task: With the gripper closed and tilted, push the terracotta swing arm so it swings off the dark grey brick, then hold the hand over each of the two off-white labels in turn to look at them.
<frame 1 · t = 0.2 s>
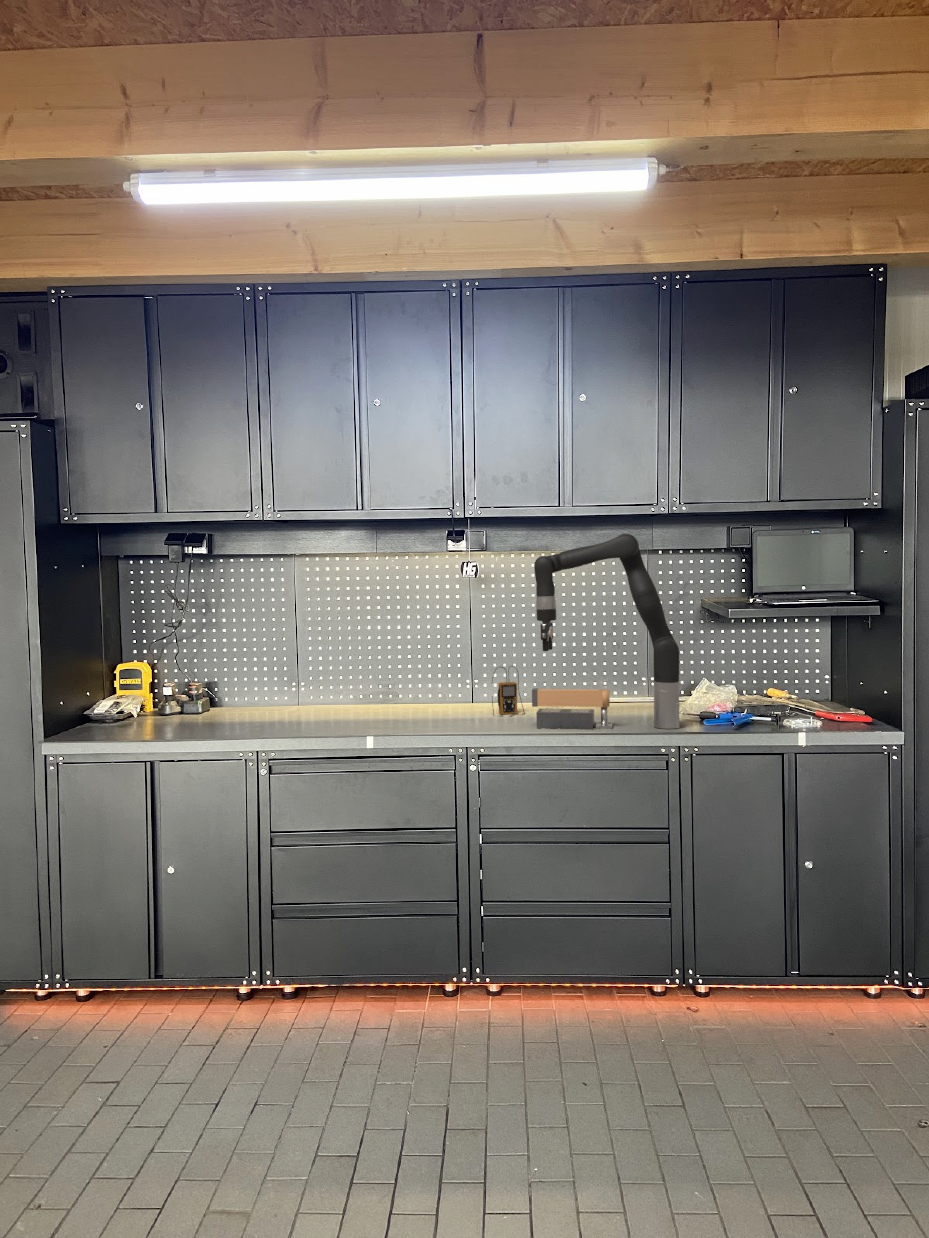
hand: (547, 650, 352), 29 cm above the worktop, tool pointing down, fingers open, 8 cm apart
multimeter: (511, 715, 378), on the worktop
dark grey brick: (565, 726, 349), on the worktop
hinge post: (604, 727, 346), on the worktop
swing arm: (570, 697, 348), point 11 cm above the worktop, hinge at 0.0°
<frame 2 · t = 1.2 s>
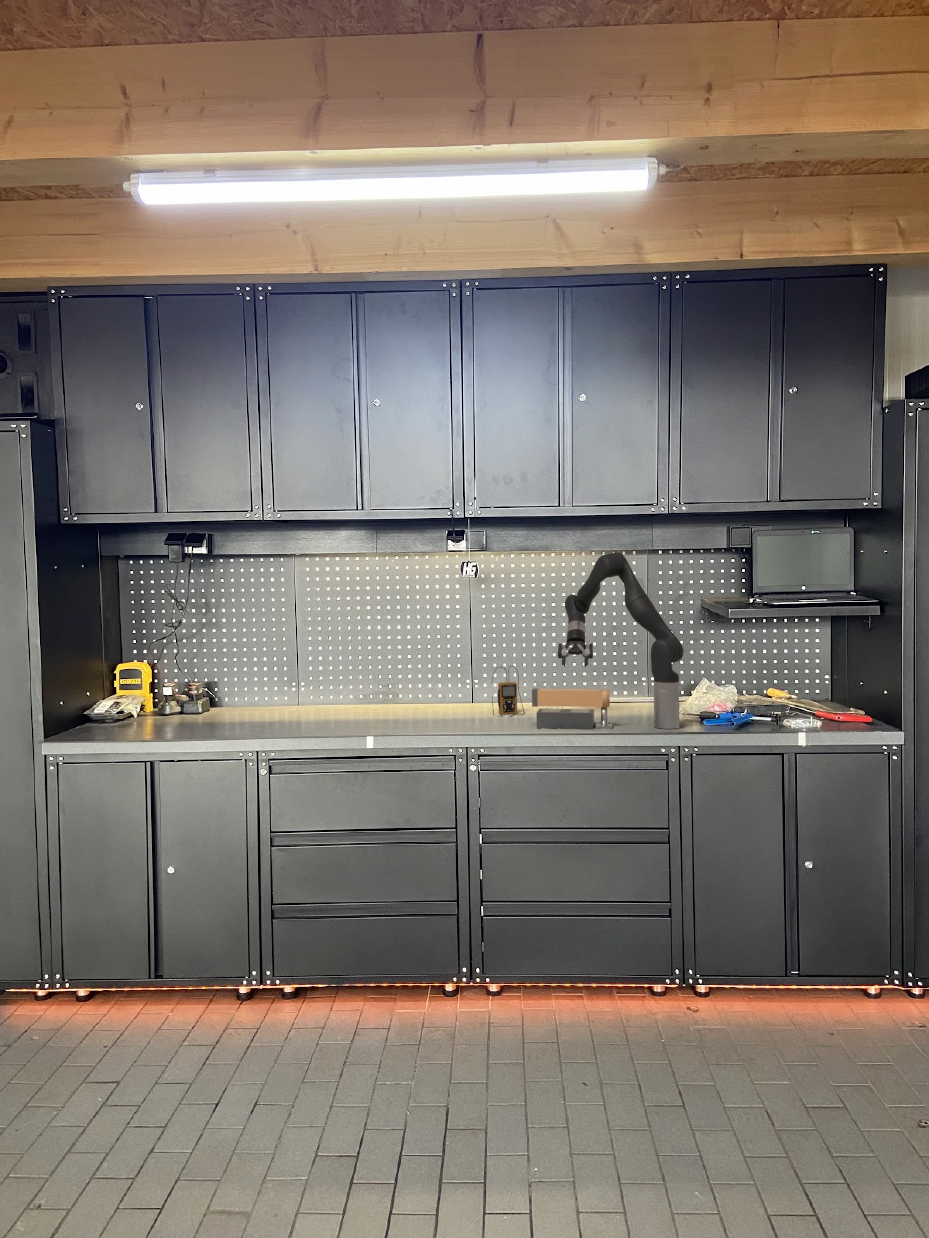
hand: (574, 665, 366), 21 cm above the worktop, tool tilted 45°, fingers open, 8 cm apart
nothing on the worktop moved.
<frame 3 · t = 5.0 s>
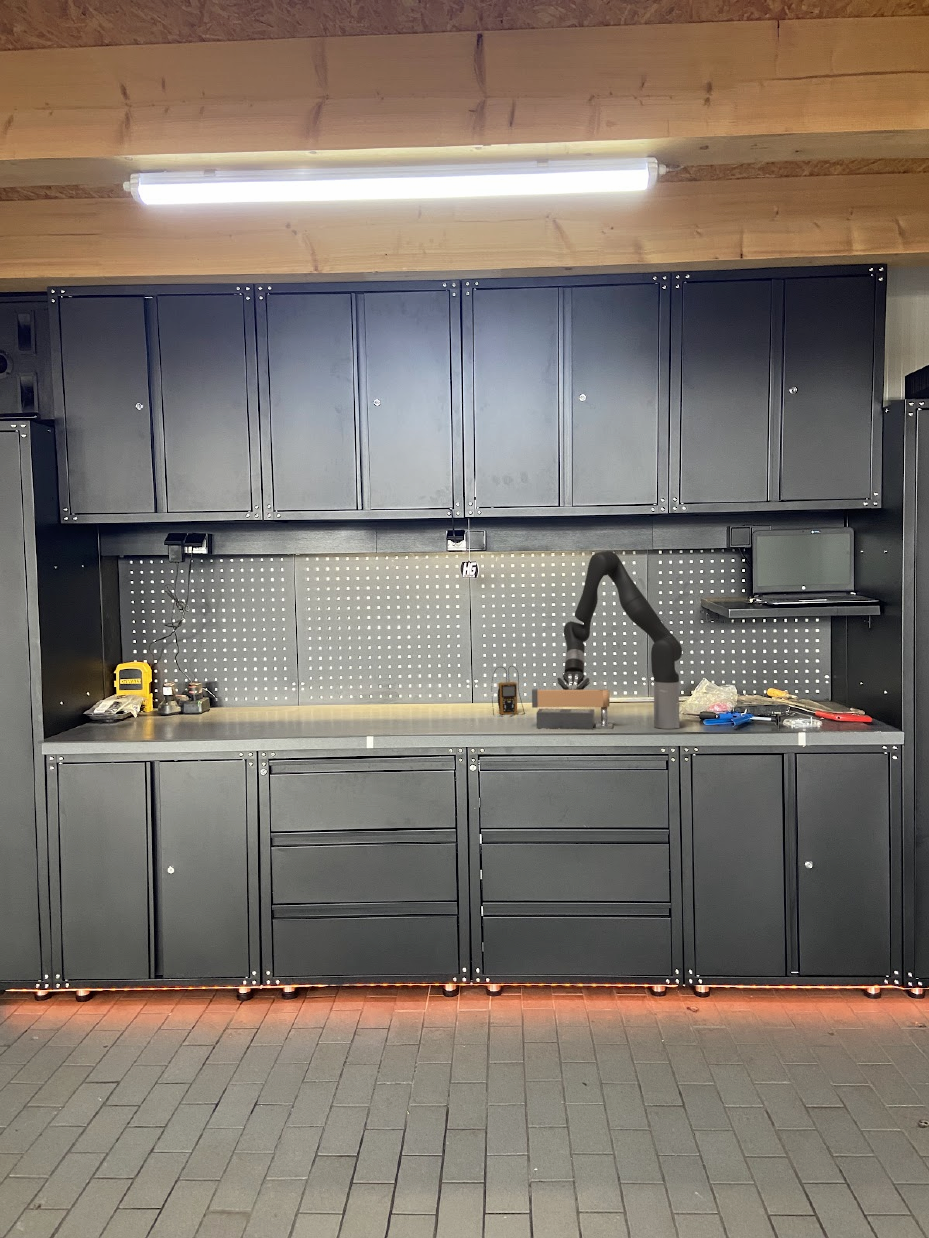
hand: (572, 699, 349), 10 cm above the worktop, tool tilted 45°, fingers closed
swing arm: (570, 698, 347), point 11 cm above the worktop, hinge at 5.0°, touching gripper
everything else where it was.
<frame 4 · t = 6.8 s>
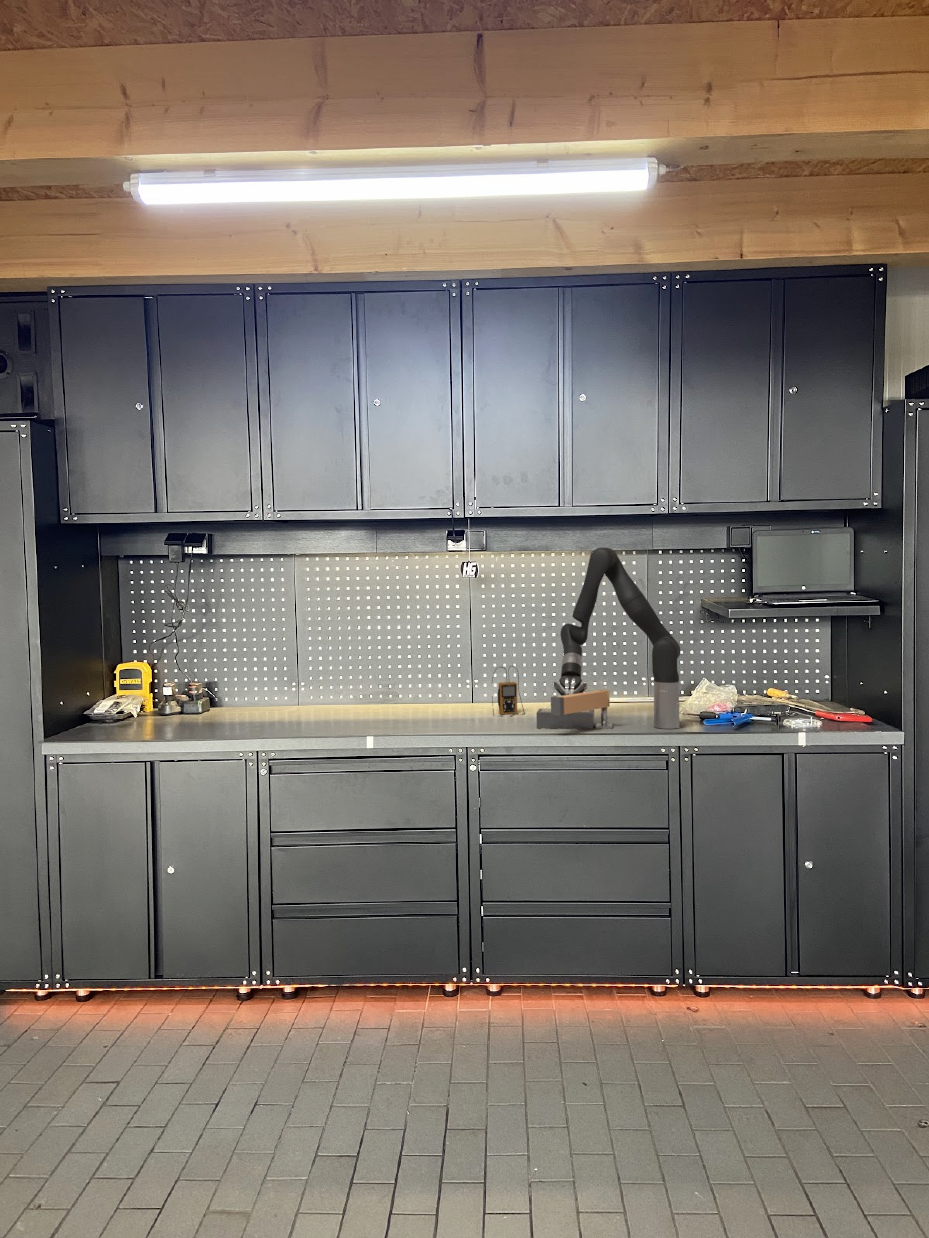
hand: (568, 704, 337), 10 cm above the worktop, tool tilted 45°, fingers closed
swing arm: (582, 701, 337), point 11 cm above the worktop, hinge at 52.8°
everything else where it was.
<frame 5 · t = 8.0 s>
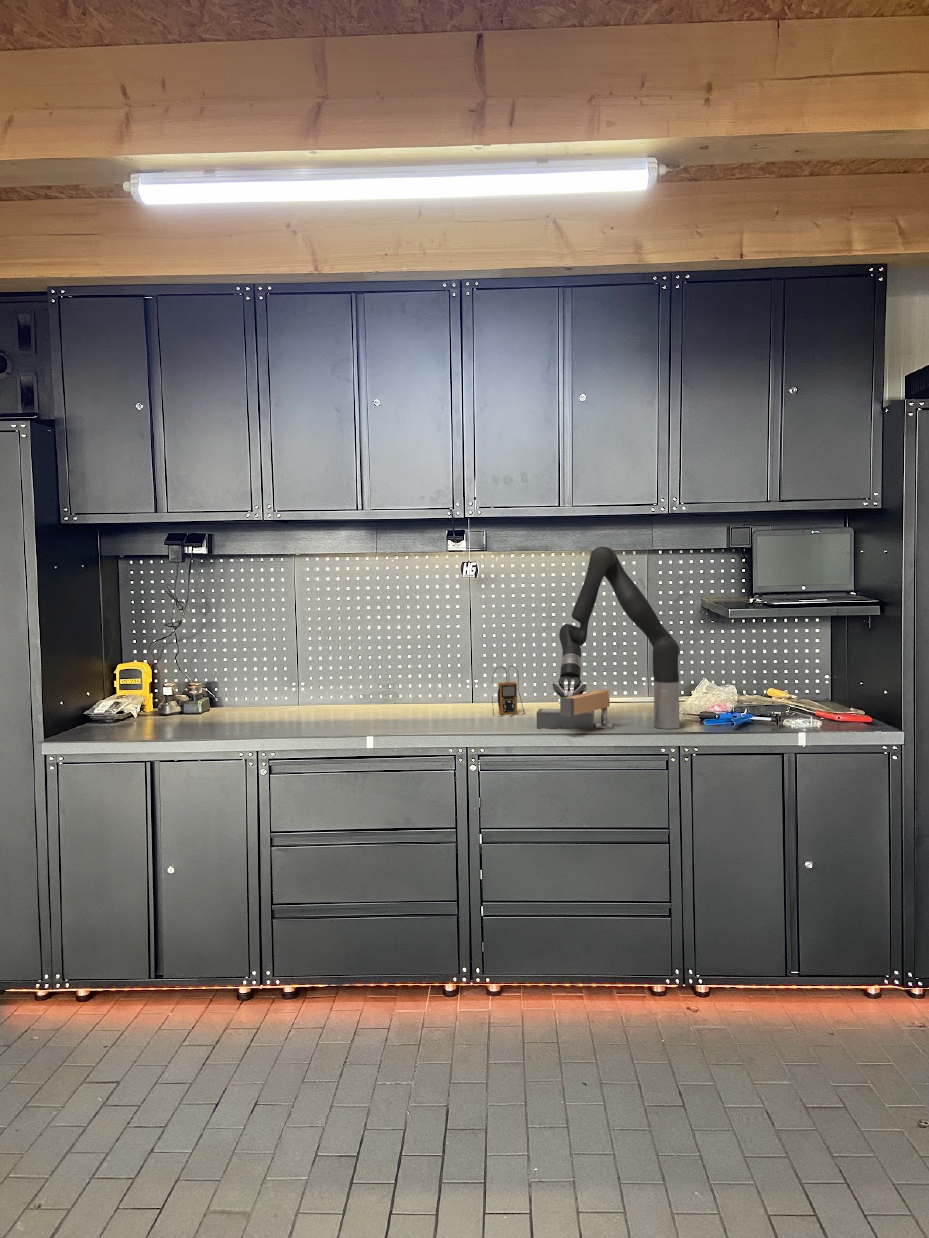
hand: (568, 705, 332), 10 cm above the worktop, tool tilted 45°, fingers closed
swing arm: (586, 702, 336), point 11 cm above the worktop, hinge at 62.2°, touching hand
everything else where it was.
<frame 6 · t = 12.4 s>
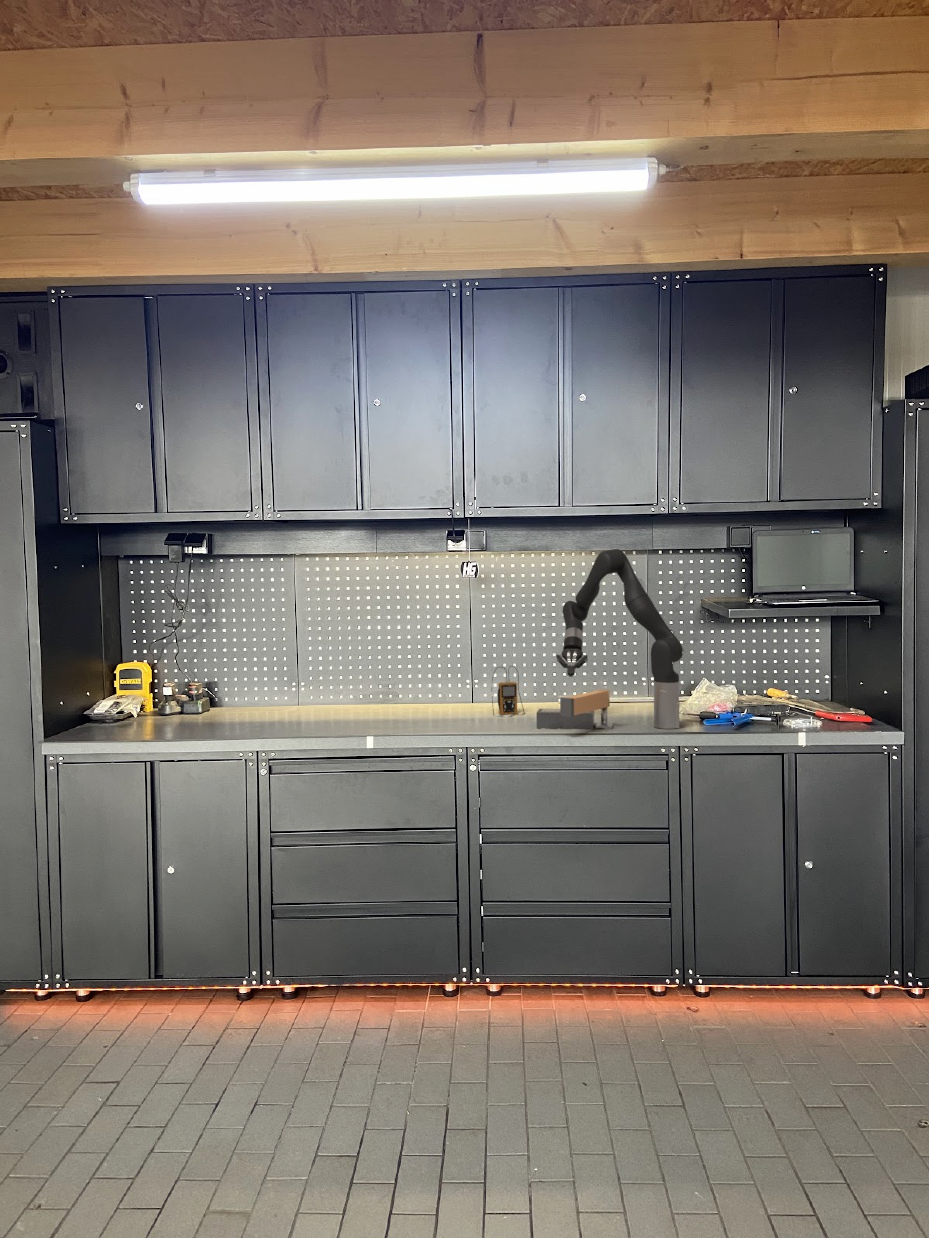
hand: (570, 675, 360), 18 cm above the worktop, tool tilted 45°, fingers closed
swing arm: (586, 702, 336), point 11 cm above the worktop, hinge at 62.3°
everything else where it was.
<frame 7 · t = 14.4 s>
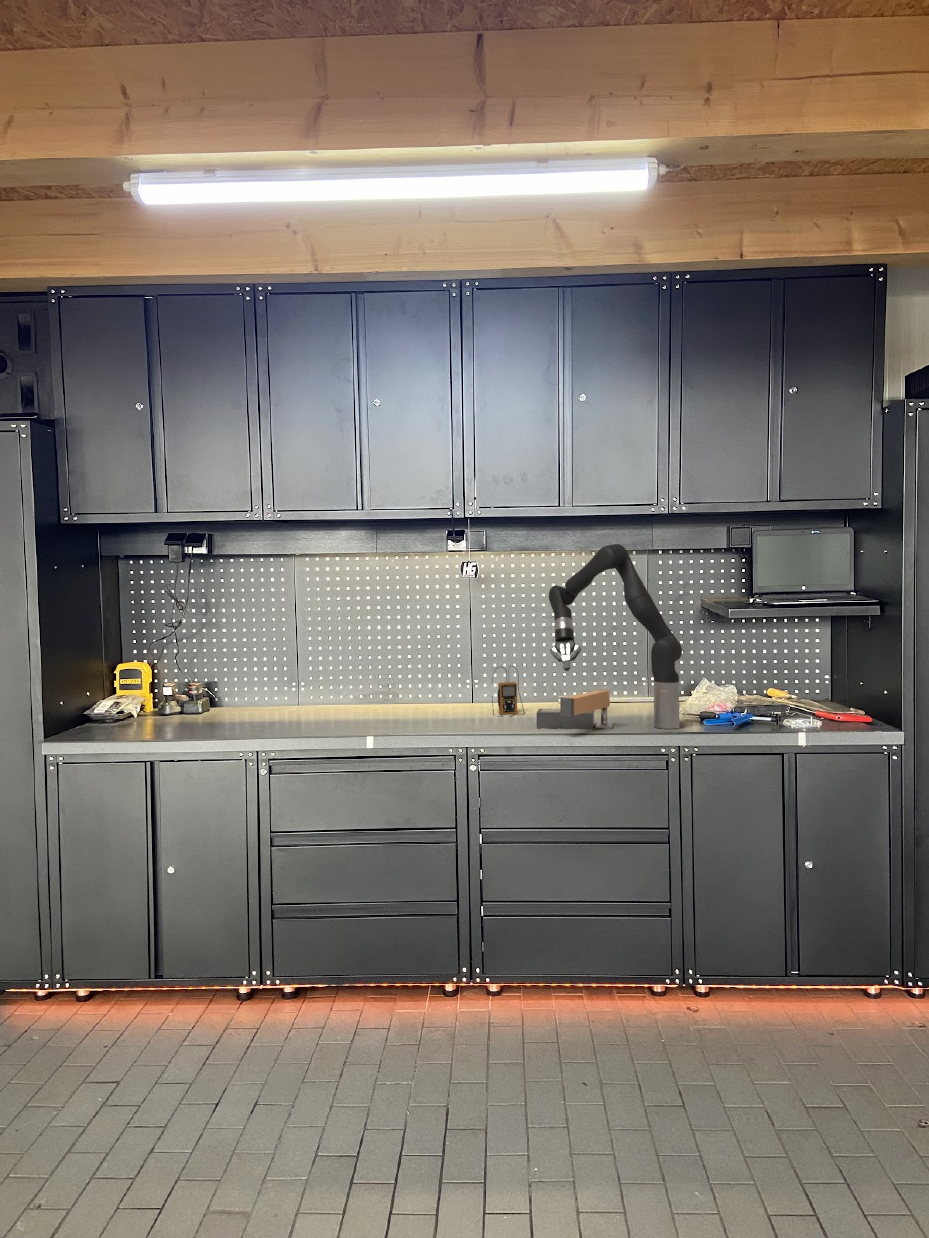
hand: (567, 670, 360), 20 cm above the worktop, tool tilted 30°, fingers closed
nothing on the worktop moved.
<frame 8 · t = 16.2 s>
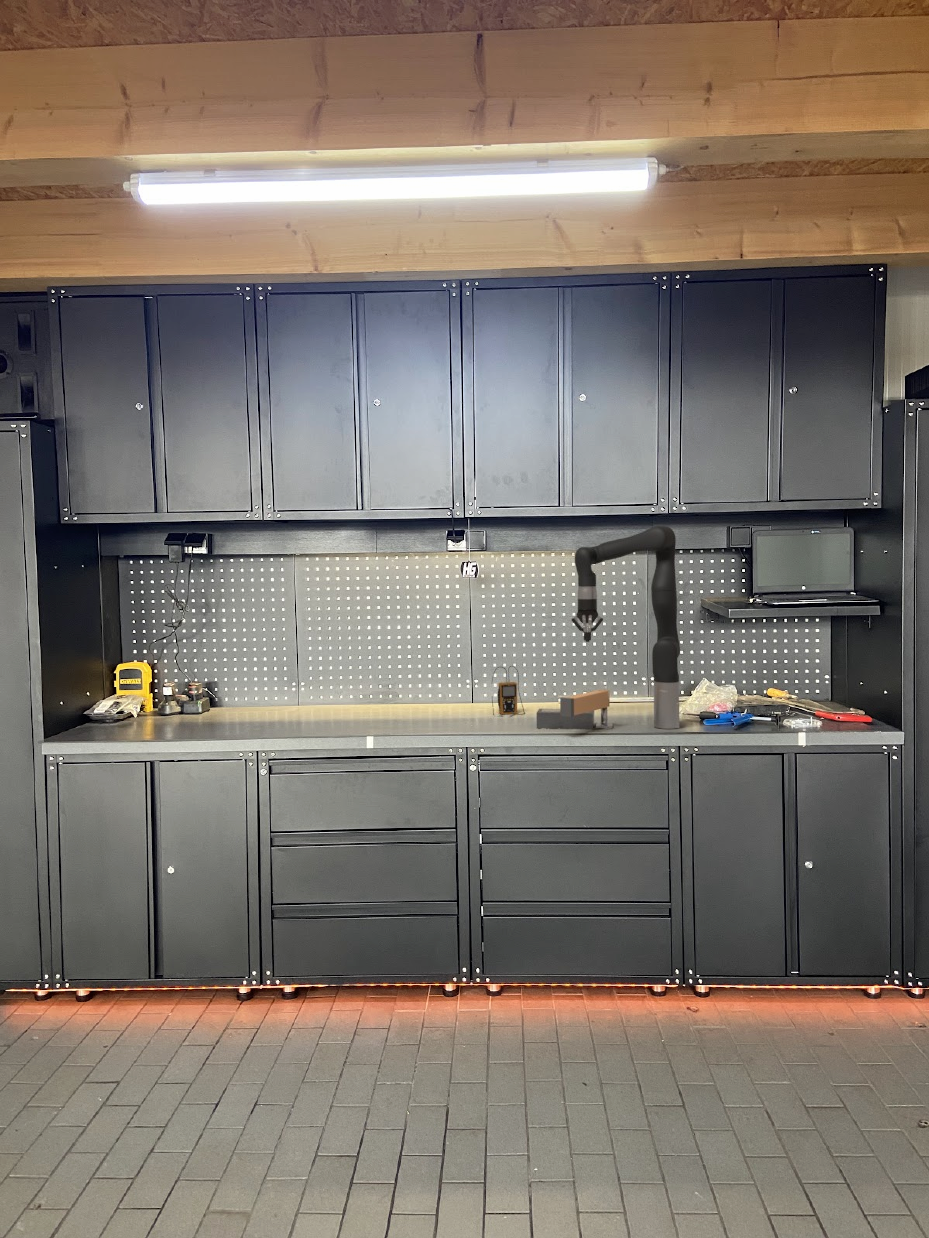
hand: (587, 641, 362), 31 cm above the worktop, tool pointing down, fingers closed
nothing on the worktop moved.
at the end: swing arm at +62° (first picture: +0°); multimeter moved 0.3 cm from its start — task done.
